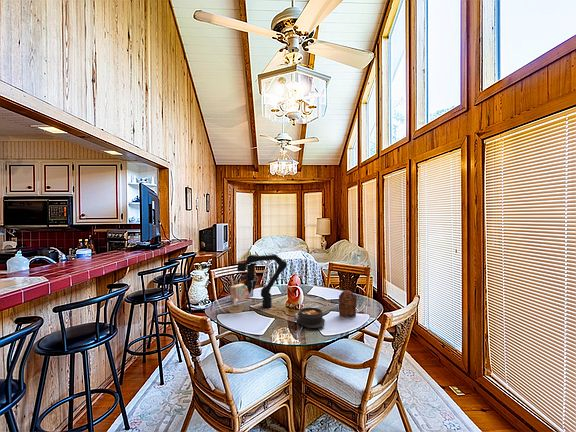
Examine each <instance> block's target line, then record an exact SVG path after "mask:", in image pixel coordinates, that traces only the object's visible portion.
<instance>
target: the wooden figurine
mask: <svg viewBox="0 0 576 432" xmlns="http://www.w3.org/2000/svg"><path fill="white" fill-rule="evenodd" d="M338 303H339V304H338V312H339V313H338V314H339V316H340V317H342V318H345V319H347V318H353V317H354V318H355V317H356V316H357V310H356V309H357V295H356V294H354V293H353V292H352V291H351V290H349V289H345V290H343V291H341V292H340V294H339V295H338Z"/></svg>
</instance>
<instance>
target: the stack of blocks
mask: <svg viewBox="0 0 576 432" xmlns="http://www.w3.org/2000/svg"><path fill="white" fill-rule="evenodd" d="M251 297H254V290H251V293H249V291H248V288H247V286H245V285H244V283H237V284H235V285H231V286H230V302H233V303H234V298H237V299H238V302H240V301H241V302H242V301H243V300H246V299H249V298H251Z"/></svg>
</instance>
